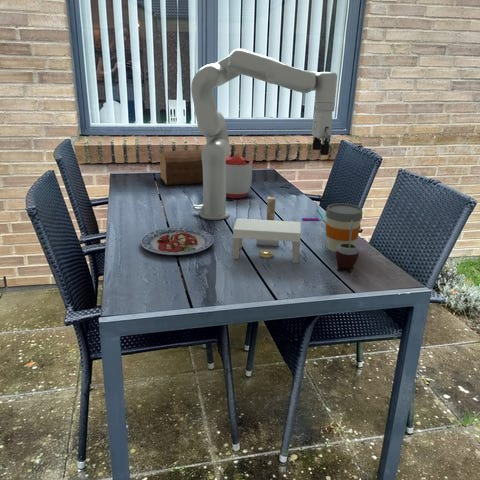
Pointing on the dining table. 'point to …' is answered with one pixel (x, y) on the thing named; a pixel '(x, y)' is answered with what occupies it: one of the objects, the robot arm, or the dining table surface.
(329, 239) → the reusable coffee cup
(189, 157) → the bread
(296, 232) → the white bench
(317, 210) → the squeegee
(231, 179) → the citrus juicer
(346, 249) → the mate gourd
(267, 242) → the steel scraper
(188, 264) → the dining table surface
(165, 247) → the ceramic plate
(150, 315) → the dining table surface
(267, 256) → the brass token
